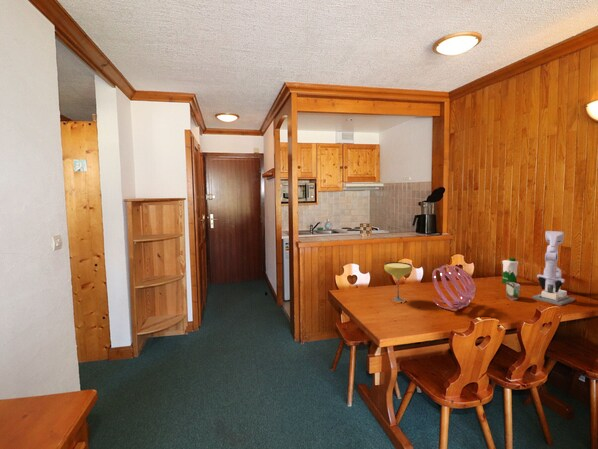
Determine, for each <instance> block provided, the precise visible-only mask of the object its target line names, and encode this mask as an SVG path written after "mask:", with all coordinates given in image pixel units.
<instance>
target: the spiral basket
mask: <svg viewBox="0 0 598 449" xmlns="http://www.w3.org/2000/svg"><path fill="white" fill-rule="evenodd" d="M445 268H446V269H448V271H447V270H446V269H445ZM457 270H458V271H457ZM437 271H439V277H440V280H441V282H442V285H443V287H444V289H445V290H446V292H447V293H448V295H449V296H450V297H451V298H452V300H453V301H450V300H449V299H448V298H447V297H446V295H445V294H444V292H443V291H442V289H441V287H440V286H439V283H438V280H437V274H436V272H437ZM431 274H432V276H431V278H432V283H433V285H434V287H435V289H436V292H437V293H438V295H439V296H440V298H441V299H439V298H437V297H434V299H433V298H432V301H433V302H434V304H435V305H436V306H438V307H439V308H441V309H443V308H444V309H445V310H454V311H459V310H461V309H463V308H464V307H468V306H469V305H471V304H470V303H471V301H472V300H473V299H474V297H475V293H476V284H475V281H474V279H473V278H472V276H471V274H470V273H469V272H467V270H465V269H463V268H460V267H459V266H457V265H448V264H447V265H442V266H440V267H437V268H435V269H434V270H433V271H432V273H431ZM456 277H457V279H458V280H459V281H460V283H461V285H462V286H463V288H464V290H463V288H462V287H461V286H460V284H459V282H458V280H457V279H456ZM447 279H448V280H449V281H450V282H451V284H452V285H453V287H454V288H455V291H456V293H457V295H458V296H457V295H456V294H455V293H454V291H453V290H452V289H451V287H450V285H449V283H448V281H447ZM436 300H437V301H439V302H441V303H444V304H446V305H447V306H449V307H445V306H443V305H440V304H439V303H438V302H437V301H436Z"/></svg>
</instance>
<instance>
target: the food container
mask: <svg viewBox="0 0 598 449" xmlns="http://www.w3.org/2000/svg"><path fill="white" fill-rule="evenodd" d="M505 289H506V292H505V293H506V294H505V295H506V297H507V298H508V299H509V300H511V301H513V302H514V301H518V300H519V298H520V290H521V284H519V283H518V282H517V283H513V282H506V283H505Z"/></svg>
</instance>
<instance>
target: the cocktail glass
mask: <svg viewBox="0 0 598 449" xmlns="http://www.w3.org/2000/svg"><path fill="white" fill-rule="evenodd" d="M383 267H384V268H383V269H384V271H385V272H386V273H387V274H388V275H391V276H393V277H394V278H395V279H396V280H397V292H396V293H397V295H396V297H393V298H394V300H395V301H404V300H403V299H404V298H402V299H401V297H400V296H399V283H400V282H399V280H400V279H401V278H402V277H404V276H407V275H409V274H410V273H412V272H413V264H411V263H408V262H403V261H402V262H401V261H397V262H396V261H391V262H385V263H384V266H383Z"/></svg>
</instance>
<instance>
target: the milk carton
mask: <svg viewBox="0 0 598 449" xmlns="http://www.w3.org/2000/svg"><path fill="white" fill-rule="evenodd" d="M501 261H502V262H501V263H502V278H501V279H502V281H501V283H503V284H506V282H513V283H517V284H518V278H517V276H518V265H519V261H518V260H516V257H509V259H504V260H501Z"/></svg>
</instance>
